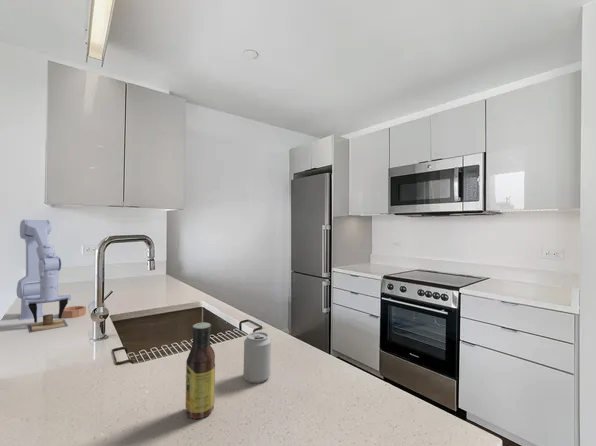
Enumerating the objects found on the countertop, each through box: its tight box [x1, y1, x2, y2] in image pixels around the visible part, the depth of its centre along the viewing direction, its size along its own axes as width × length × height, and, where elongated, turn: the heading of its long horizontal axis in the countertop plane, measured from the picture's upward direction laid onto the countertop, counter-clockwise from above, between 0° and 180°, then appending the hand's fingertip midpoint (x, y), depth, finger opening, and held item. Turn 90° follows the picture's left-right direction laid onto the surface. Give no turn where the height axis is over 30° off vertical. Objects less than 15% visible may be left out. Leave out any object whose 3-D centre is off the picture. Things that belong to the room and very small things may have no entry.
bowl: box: [61, 305, 87, 319], centre depth 138 cm, size 9×9×4 cm
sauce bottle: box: [185, 322, 216, 419], centre depth 68 cm, size 7×6×20 cm
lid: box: [30, 313, 65, 333], centre depth 123 cm, size 10×10×4 cm
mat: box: [26, 319, 69, 334], centre depth 123 cm, size 12×12×1 cm
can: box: [243, 331, 272, 384], centre depth 84 cm, size 8×8×12 cm
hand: (48, 320), depth 123 cm, fingers open, 7 cm apart
